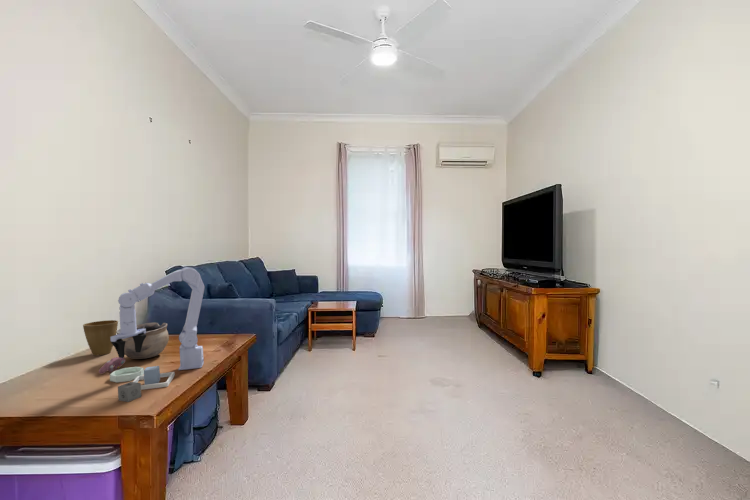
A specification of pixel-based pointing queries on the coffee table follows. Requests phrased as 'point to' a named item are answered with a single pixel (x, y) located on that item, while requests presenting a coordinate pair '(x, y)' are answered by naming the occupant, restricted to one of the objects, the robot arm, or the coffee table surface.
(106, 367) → the video game controller
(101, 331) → the plant pot
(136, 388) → the dice cube
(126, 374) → the ceramic dish
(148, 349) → the ceramic bowl
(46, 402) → the coffee table surface
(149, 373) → the slate block
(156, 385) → the white flat frame piece
